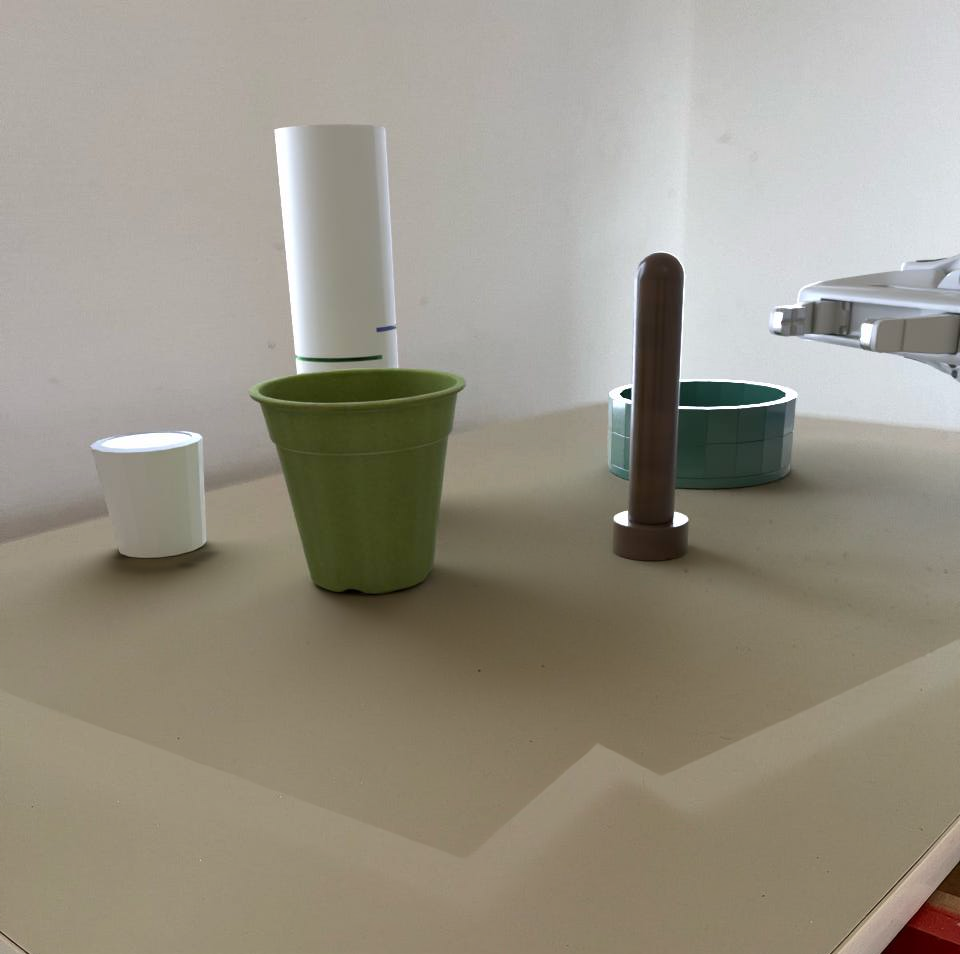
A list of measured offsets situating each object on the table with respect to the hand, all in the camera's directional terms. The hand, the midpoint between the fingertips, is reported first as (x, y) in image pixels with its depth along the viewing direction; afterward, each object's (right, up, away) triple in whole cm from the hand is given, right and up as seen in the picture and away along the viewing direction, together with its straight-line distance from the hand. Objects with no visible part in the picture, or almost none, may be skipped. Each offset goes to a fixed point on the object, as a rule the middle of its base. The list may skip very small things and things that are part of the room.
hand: (818, 328), depth 63 cm
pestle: (-10, -13, +1) cm, 17 cm away
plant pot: (-27, -16, -2) cm, 31 cm away
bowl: (-3, -5, +22) cm, 22 cm away
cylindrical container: (-30, -9, +13) cm, 34 cm away
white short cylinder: (-42, -13, +5) cm, 44 cm away
